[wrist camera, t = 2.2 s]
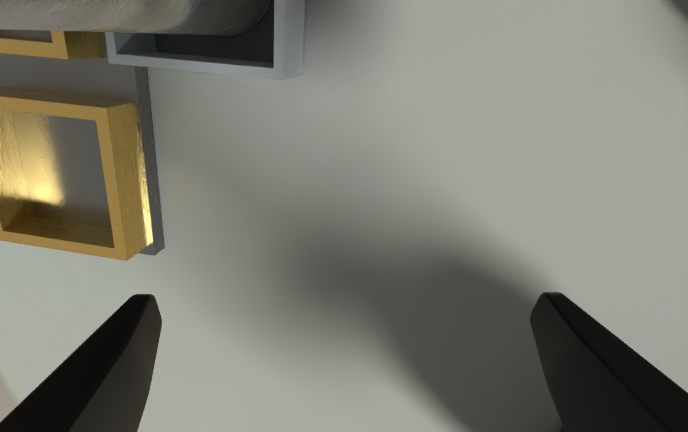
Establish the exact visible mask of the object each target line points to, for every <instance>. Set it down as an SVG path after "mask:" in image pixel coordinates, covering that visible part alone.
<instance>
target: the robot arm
mask: <svg viewBox="0 0 688 432" xmlns="http://www.w3.org/2000/svg"><path fill="white" fill-rule="evenodd" d="M530 323H531V327H532V331H533V334H534V338H535V342H536V346H537V349H538V353H539V357H540V361H541V365H542V368H543V372H544V375H545V379H546V382H547V385H548V388H549V391H550V393H551V396H552V399H553V401H554V404H555V406H556V409H557V412H558V414H559V417H560V419H561V422H562V425H563V428H562V431H561V432H688V393H687V392H686V391H685V390H683V389H682V388H681V387H680V386H678V385H677V384H676V383H674V382H673V381H672V380H671V379H669V378H668V377H667V376H666V375H664V374H663V373H662V372H661V371H659V370H658V369H657V368H656V367H654V366H653V365H652V364H650V363H649V362H648V361H647V360H645V359H644V358H643V357H642V356H640V355H639V354H638V353H637V352H635V351H634V350H633V349H632V348H630V347H629V346H628V345H627V344H625V343H624V342H623V341H621V340H620V339H619V338H618V337H616V336H615V335H614V334H613V333H611V332H610V331H609V330H608V329H606V328H605V327H604V326H603V325H601V324H600V323H599V322H597V321H596V320H595V319H594V318H592V317H591V316H590V315H589V314H587V313H586V312H585V311H584V310H582V309H581V308H580V307H579V306H577V305H576V304H575V303H573V302H572V301H571V300H570V299H568V298H567V297H566V296H565V295H563V294H562V293H559V292H544V293H542V294H541V295H540V297H539V299H538V301H537V303H536V305H535V307H534V309H533V310H532V312H531V316H530ZM161 326H162V319H161V315H160V312H159V309H158V305H157V302H156V299H155V297H154V296H153V295H151V294H136V295H133V296H132V297H130V298H129V299H128V300H127V301H126V302H125V303H124V304H123V305H122V306H121V307H120V308H119V309H118V310H117V311H116V312H115V313H114V314H113V315H112V316H111V317H109V318H108V319H107V320H106V321H105V322H104V323H103V324H102V325H101V326H100V327H99V328H98V329H97V330H96V331H95V332H94V333H93V334H92V335H91V336H90V337H89V338H88V339H87V340H86V341H84V342H83V343H82V344H81V345H80V346H79V347H78V348H77V349H76V350H75V351H74V352H73V353H72V354H71V355H70V356H69V357H68V358H67V359H66V360H65V361H64V362H63V363H62V364H61V365H59V366H58V367H57V368H56V369H55V370H54V371H53V372H52V373H51V374H50V375H49V376H48V377H47V378H46V379H45V380H44V381H43V382H42V383H41V384H40V385H39V386H38V387H37V388H36V389H35V390H33V391H32V392H31V393H30V394H29V395H28V396H27V397H26V398H25V399H24V400H23V401H22V402H21V403H20V404H19V405H18V406H17V407H16V408H15V409H14V410H13V411H12V412H11V413H10V414H9V415H7V417H5V418H4V419H3V420H2V421H1V422H0V432H137V430H138V427H139V424H140V421H141V417H142V414H143V411H144V408H145V405H146V401H147V398H148V394H149V390H150V385H151V380H152V375H153V370H154V364H155V359H156V353H157V348H158V343H159V337H160V332H161Z"/></svg>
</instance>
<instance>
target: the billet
mask: <svg viewBox="0 0 688 432" xmlns="http://www.w3.org/2000/svg"><path fill="white" fill-rule="evenodd" d="M270 2H271V0H0V29H10V30H48V31H85V32H122V33H159V34H196V35H236V34H239V33H243V32H245V31H247V30H249V29H250V28H252V27H253V26H254V25H256V24H257V23H258V22H259V21H260V19H261V18H262V17H263V16H264V14H265V12H266V11H267V9H268V7H269V5H270Z"/></svg>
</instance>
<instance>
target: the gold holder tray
mask: <svg viewBox="0 0 688 432" xmlns="http://www.w3.org/2000/svg"><path fill="white" fill-rule="evenodd" d="M0 240H1V241H7V242H13V243H19V244H26V245H32V246H38V247H44V248H51V249H57V250H63V251H69V252H76V253H82V254H88V255H95V256H101V257H107V258H113V259H120V260H126V261H127V260H129V259H130V258H131V257H133V256H134V255H135V254H137V253H141V254H148V255H154V256H155V255H156V254H157V253H158V252H160V251H161V250H162V249H163V248H164V237H163V227H162V217H161V206H160V196H159V186H158V176H157V165H156V155H155V145H154V134H153V124H152V114H151V104H150V93H149V83H148V73H147V67H142V66H132V65H122V64H111V63H109V62H108V54H107V46H106V38H105V32H85V31H48V30H10V29H0Z"/></svg>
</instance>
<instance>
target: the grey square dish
mask: <svg viewBox="0 0 688 432" xmlns="http://www.w3.org/2000/svg"><path fill="white" fill-rule="evenodd" d="M304 21H305V0H274V63H270V62H259V61H248V60H237V59H226V58H215V57H204V56H193V55H182V54H171V53H160V52H157V47H156V35H155V33H122V32H105V38H106V46H107V54H108V62H109V63H111V64H122V65H132V66H142V67H153V68H163V69H174V70H184V71H194V72H205V73H215V74H226V75H236V76H246V77H257V78H267V79H278V80H285V79H289V78H292V77H296V76H299V75H303V49H304Z"/></svg>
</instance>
